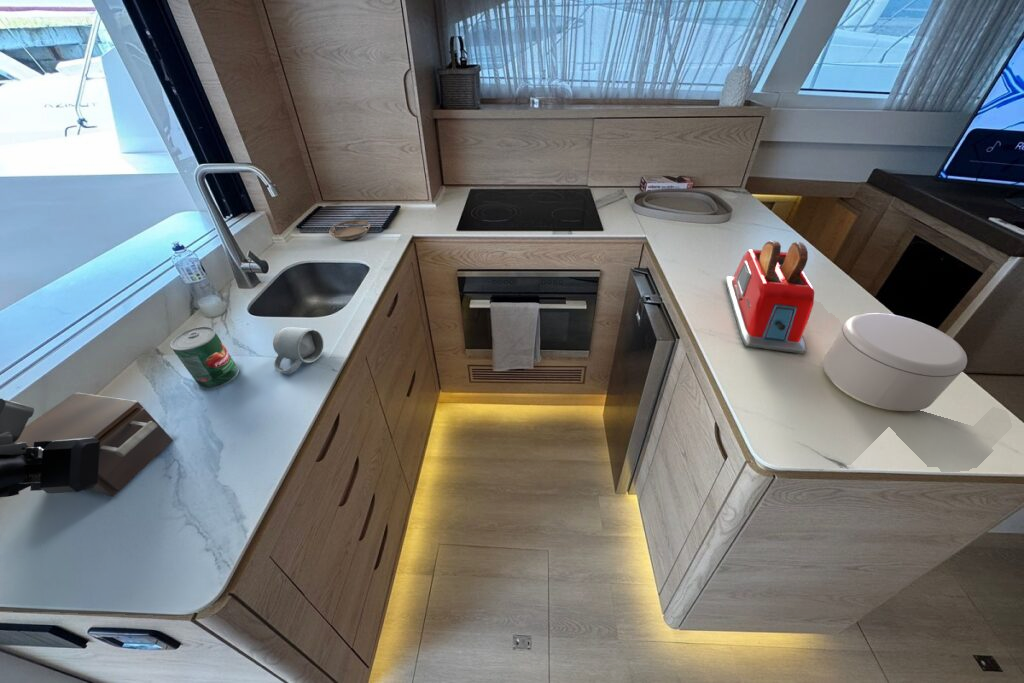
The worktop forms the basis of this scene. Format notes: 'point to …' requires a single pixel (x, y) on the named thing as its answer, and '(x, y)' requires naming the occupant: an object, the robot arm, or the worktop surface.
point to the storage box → (80, 423)
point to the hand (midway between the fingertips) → (85, 456)
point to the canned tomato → (205, 357)
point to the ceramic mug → (297, 347)
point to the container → (893, 361)
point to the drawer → (129, 448)
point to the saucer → (350, 230)
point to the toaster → (772, 297)
